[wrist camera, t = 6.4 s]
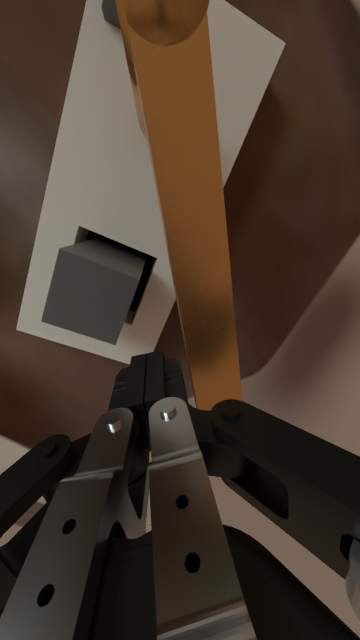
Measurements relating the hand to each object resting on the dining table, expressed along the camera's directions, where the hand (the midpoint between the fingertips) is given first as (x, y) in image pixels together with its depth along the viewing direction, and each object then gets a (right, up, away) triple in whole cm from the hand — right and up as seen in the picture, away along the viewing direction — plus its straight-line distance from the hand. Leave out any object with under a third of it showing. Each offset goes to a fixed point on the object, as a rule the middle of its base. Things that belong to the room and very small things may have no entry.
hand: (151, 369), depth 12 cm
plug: (-4, +6, +8) cm, 11 cm away
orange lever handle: (+1, +8, +5) cm, 9 cm away
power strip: (-2, +11, +7) cm, 13 cm away
